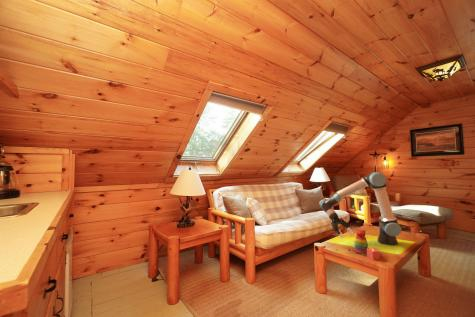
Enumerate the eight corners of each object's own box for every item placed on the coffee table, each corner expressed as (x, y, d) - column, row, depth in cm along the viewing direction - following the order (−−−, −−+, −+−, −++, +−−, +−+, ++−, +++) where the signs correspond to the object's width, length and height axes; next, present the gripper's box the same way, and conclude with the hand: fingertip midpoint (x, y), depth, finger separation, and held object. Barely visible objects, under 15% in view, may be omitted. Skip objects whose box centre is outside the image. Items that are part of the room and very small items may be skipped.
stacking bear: (370, 251, 177) (369, 229, 178) (367, 255, 170) (366, 232, 171) (355, 248, 185) (354, 226, 185) (352, 251, 177) (351, 229, 178)
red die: (373, 256, 170) (373, 248, 170) (380, 259, 164) (379, 250, 165) (366, 256, 169) (366, 248, 169) (373, 259, 163) (372, 251, 164)
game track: (368, 248, 186) (368, 247, 186) (380, 254, 173) (380, 253, 173) (352, 249, 183) (352, 249, 183) (363, 256, 170) (363, 255, 170)
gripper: (338, 215, 209) (354, 235, 195) (320, 218, 196) (335, 240, 183) (343, 210, 204) (359, 231, 191) (325, 213, 192) (341, 236, 178)
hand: (348, 235), depth 187 cm, fingers open, 13 cm apart
